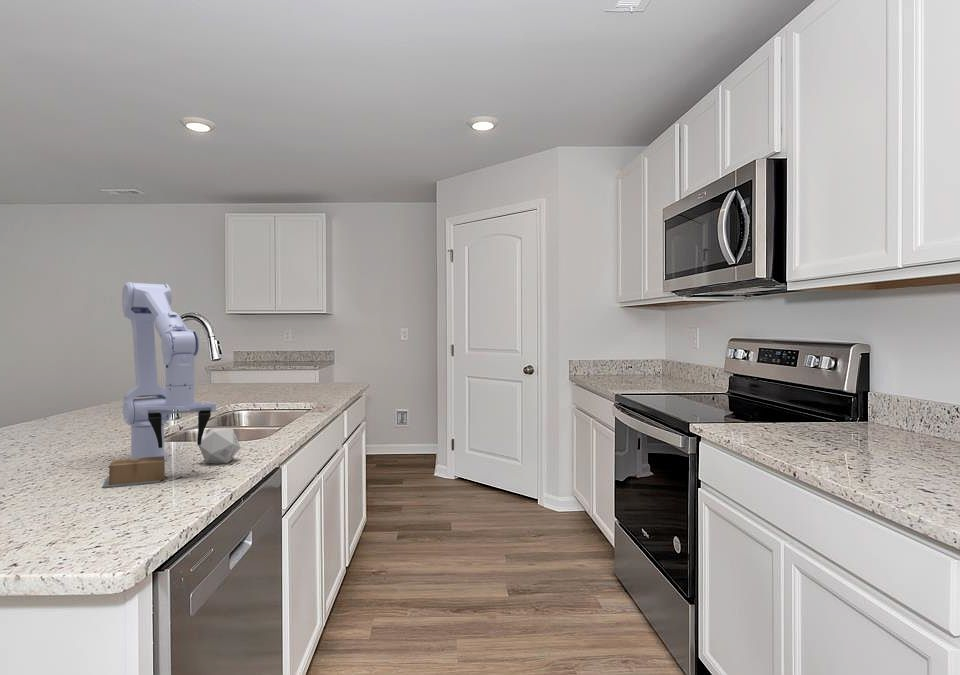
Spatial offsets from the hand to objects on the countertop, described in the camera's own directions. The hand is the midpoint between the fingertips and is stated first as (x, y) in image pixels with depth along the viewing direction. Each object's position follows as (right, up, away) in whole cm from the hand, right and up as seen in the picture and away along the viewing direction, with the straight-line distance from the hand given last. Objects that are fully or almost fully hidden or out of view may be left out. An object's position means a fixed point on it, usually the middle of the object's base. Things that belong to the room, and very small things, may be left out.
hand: (180, 445), depth 132 cm
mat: (-8, -7, -3) cm, 11 cm away
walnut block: (-3, -5, -1) cm, 6 cm away
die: (+2, -7, +15) cm, 16 cm away
